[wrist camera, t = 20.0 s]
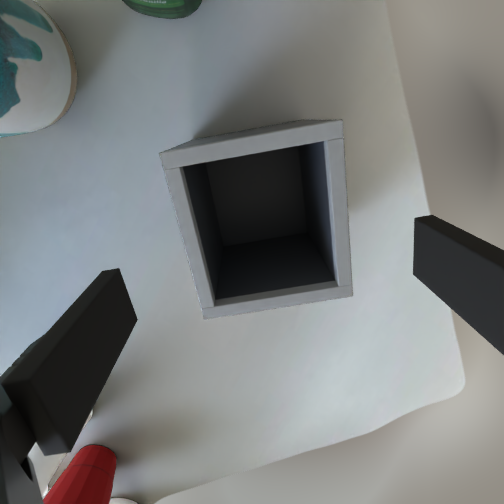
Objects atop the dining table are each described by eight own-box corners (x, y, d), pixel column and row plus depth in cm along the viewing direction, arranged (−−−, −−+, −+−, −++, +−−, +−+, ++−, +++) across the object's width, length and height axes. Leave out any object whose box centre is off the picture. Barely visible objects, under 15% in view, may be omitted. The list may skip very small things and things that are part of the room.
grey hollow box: (353, 296, 23) (343, 119, 19) (204, 320, 24) (158, 153, 19) (315, 236, 35) (303, 119, 31) (217, 252, 36) (191, 140, 31)
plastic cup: (86, 419, 45) (34, 518, 34) (148, 455, 48) (119, 557, 37) (43, 458, 47) (-18, 561, 36) (104, 490, 51) (65, 595, 39)
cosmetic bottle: (102, 412, 44) (-17, 661, 24) (70, 430, 45) (-69, 683, 25) (70, 384, 42) (-91, 630, 22) (37, 404, 43) (-144, 655, 23)
